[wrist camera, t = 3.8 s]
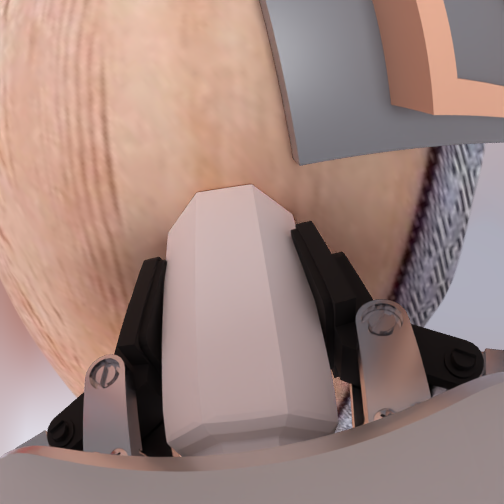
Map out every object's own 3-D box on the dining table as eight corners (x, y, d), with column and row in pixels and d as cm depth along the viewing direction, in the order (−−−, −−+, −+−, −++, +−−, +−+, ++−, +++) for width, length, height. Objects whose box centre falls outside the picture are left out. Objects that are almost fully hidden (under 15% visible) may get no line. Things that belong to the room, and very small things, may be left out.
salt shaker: (315, 259, 13) (417, 509, 4) (214, 309, 14) (226, 549, 5) (259, 155, 10) (427, 542, 1) (142, 225, 11) (56, 532, 2)
